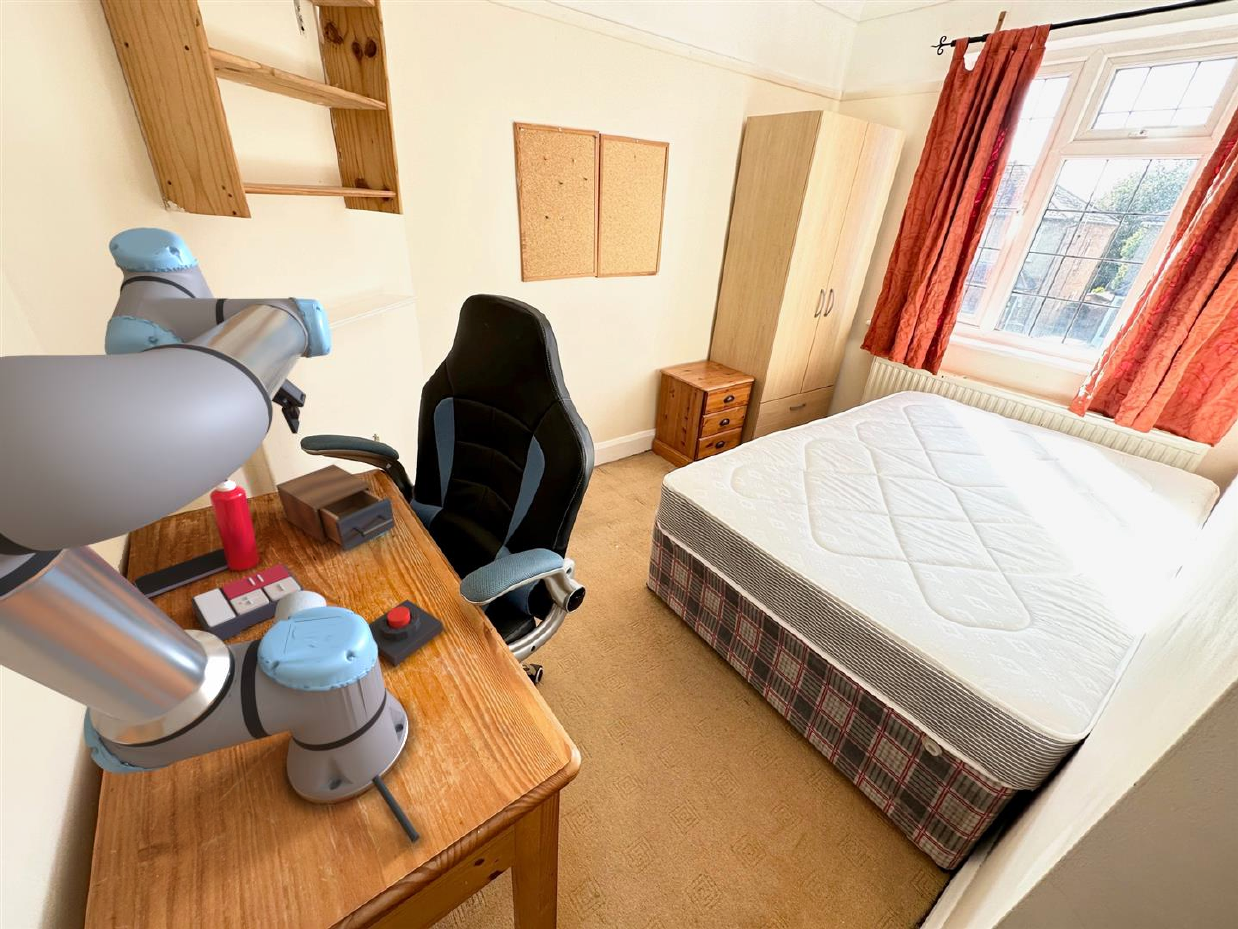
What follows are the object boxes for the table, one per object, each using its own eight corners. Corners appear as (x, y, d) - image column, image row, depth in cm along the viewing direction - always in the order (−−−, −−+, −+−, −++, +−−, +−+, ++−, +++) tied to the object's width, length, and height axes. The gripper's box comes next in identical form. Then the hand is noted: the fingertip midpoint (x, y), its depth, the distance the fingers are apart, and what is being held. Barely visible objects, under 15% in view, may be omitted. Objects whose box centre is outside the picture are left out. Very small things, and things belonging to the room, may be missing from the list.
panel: (443, 630, 89) (440, 614, 87) (395, 667, 82) (391, 650, 80) (408, 607, 94) (405, 592, 92) (360, 640, 86) (356, 624, 84)
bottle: (221, 563, 100) (199, 481, 91) (249, 551, 105) (231, 471, 96) (238, 574, 98) (217, 490, 90) (265, 560, 103) (248, 480, 94)
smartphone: (237, 561, 101) (141, 597, 90) (238, 566, 101) (143, 601, 90) (225, 546, 105) (132, 579, 94) (226, 551, 105) (134, 583, 94)
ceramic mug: (275, 660, 81) (264, 627, 78) (282, 626, 88) (272, 594, 84) (346, 643, 85) (338, 611, 82) (348, 611, 92) (340, 581, 88)
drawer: (406, 533, 113) (401, 505, 109) (356, 560, 104) (349, 530, 100) (359, 506, 121) (353, 479, 118) (309, 528, 112) (301, 500, 108)
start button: (414, 619, 87) (413, 612, 86) (397, 631, 84) (395, 624, 83) (402, 610, 88) (400, 603, 87) (384, 622, 85) (382, 615, 85)
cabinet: (377, 516, 120) (370, 483, 115) (322, 543, 109) (312, 507, 105) (341, 496, 126) (333, 464, 122) (286, 519, 116) (275, 485, 112)
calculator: (304, 586, 92) (205, 627, 81) (308, 604, 94) (212, 646, 83) (282, 560, 98) (188, 595, 87) (286, 577, 100) (195, 613, 89)
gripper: (302, 326, 76) (333, 413, 93) (103, 313, 69) (175, 410, 86) (293, 359, 72) (327, 444, 89) (81, 349, 65) (161, 444, 82)
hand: (253, 427), depth 87 cm, fingers open, 13 cm apart
